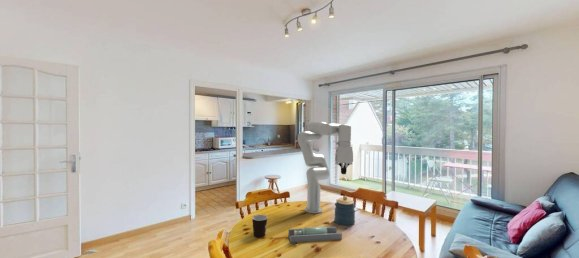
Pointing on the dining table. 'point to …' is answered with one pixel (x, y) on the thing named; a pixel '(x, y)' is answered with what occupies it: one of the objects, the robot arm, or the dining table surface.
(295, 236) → the u rest
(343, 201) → the canister
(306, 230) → the bottle
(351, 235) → the dining table surface
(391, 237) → the dining table surface
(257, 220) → the coffee mug
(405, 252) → the dining table surface
